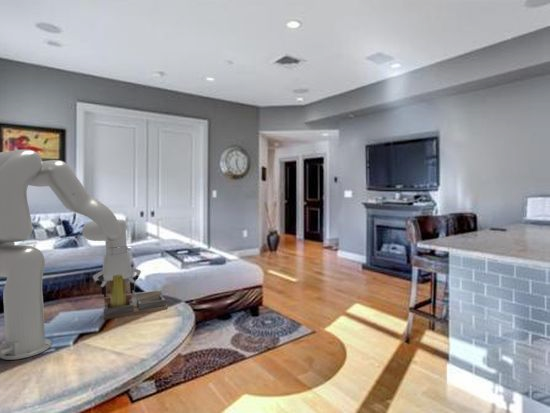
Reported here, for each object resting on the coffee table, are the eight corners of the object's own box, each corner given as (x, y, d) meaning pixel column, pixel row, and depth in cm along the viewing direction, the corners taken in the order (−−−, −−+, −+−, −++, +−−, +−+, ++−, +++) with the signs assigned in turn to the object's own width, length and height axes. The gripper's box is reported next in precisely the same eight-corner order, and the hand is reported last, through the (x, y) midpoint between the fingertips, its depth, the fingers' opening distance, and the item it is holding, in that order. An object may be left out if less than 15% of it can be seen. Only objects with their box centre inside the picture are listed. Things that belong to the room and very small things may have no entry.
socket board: (167, 309, 141) (166, 295, 141) (103, 319, 131) (103, 305, 131) (162, 301, 152) (162, 289, 152) (103, 311, 141) (102, 297, 141)
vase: (115, 307, 142) (114, 272, 141) (130, 307, 141) (128, 272, 141) (107, 312, 136) (105, 276, 135) (122, 312, 135) (120, 276, 135)
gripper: (139, 247, 145) (140, 289, 146) (91, 252, 137) (93, 295, 138) (140, 250, 138) (142, 293, 139) (91, 254, 131) (93, 300, 131)
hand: (118, 294), depth 138 cm, fingers open, 9 cm apart
